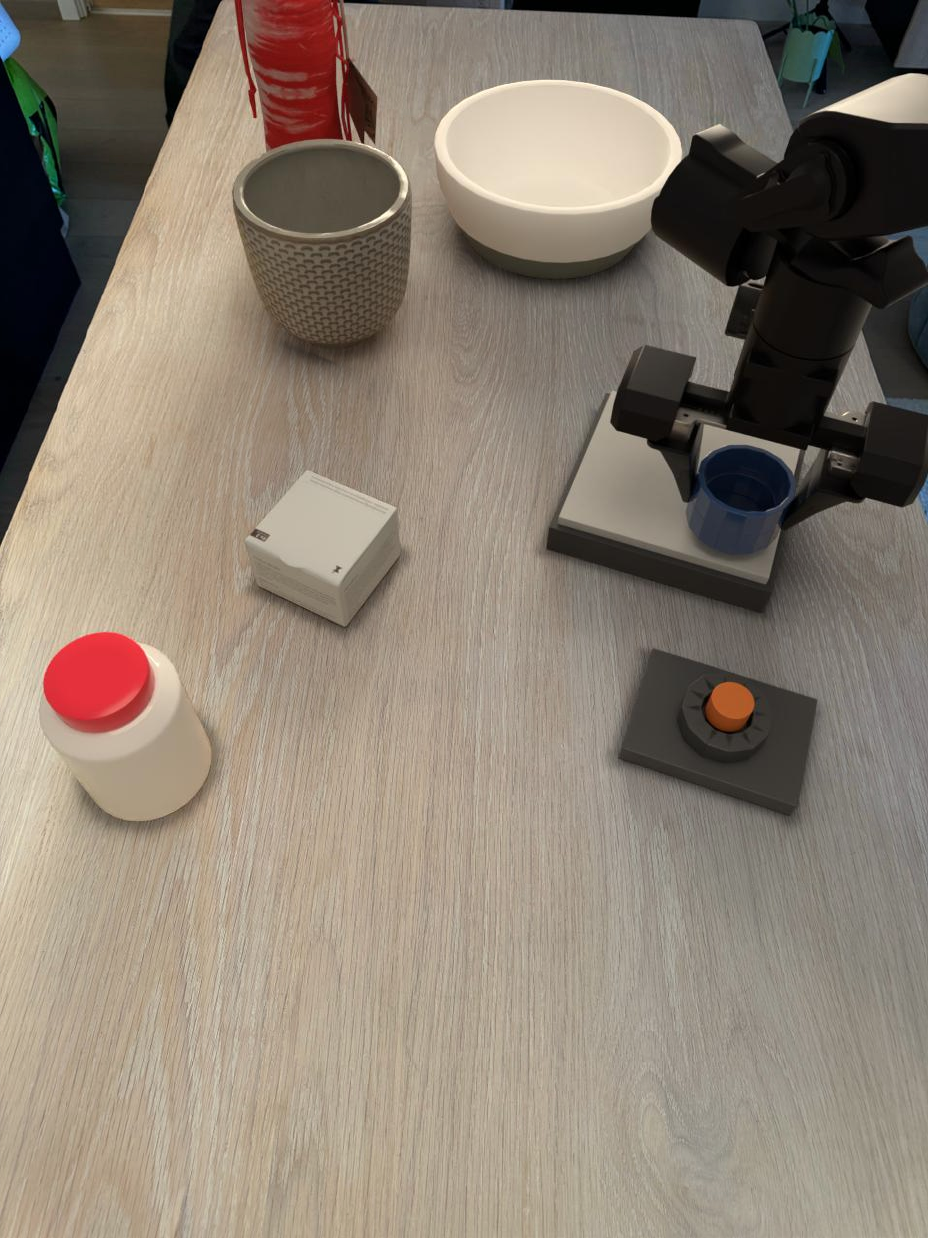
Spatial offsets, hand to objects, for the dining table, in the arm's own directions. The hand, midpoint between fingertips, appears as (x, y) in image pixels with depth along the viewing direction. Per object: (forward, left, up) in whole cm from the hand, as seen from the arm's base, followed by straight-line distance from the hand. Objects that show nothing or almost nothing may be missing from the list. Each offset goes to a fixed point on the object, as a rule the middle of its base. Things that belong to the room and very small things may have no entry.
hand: (735, 511), depth 65 cm
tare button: (-3, +14, -2) cm, 15 cm away
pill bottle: (+30, +29, -5) cm, 42 cm away
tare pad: (-3, +14, -5) cm, 16 cm away
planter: (+37, -14, -5) cm, 40 cm away
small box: (+26, +11, -5) cm, 29 cm away
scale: (+4, -4, -5) cm, 7 cm away
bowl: (+24, -35, -5) cm, 42 cm away
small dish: (0, 0, -1) cm, 1 cm away
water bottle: (+45, -29, -5) cm, 54 cm away
